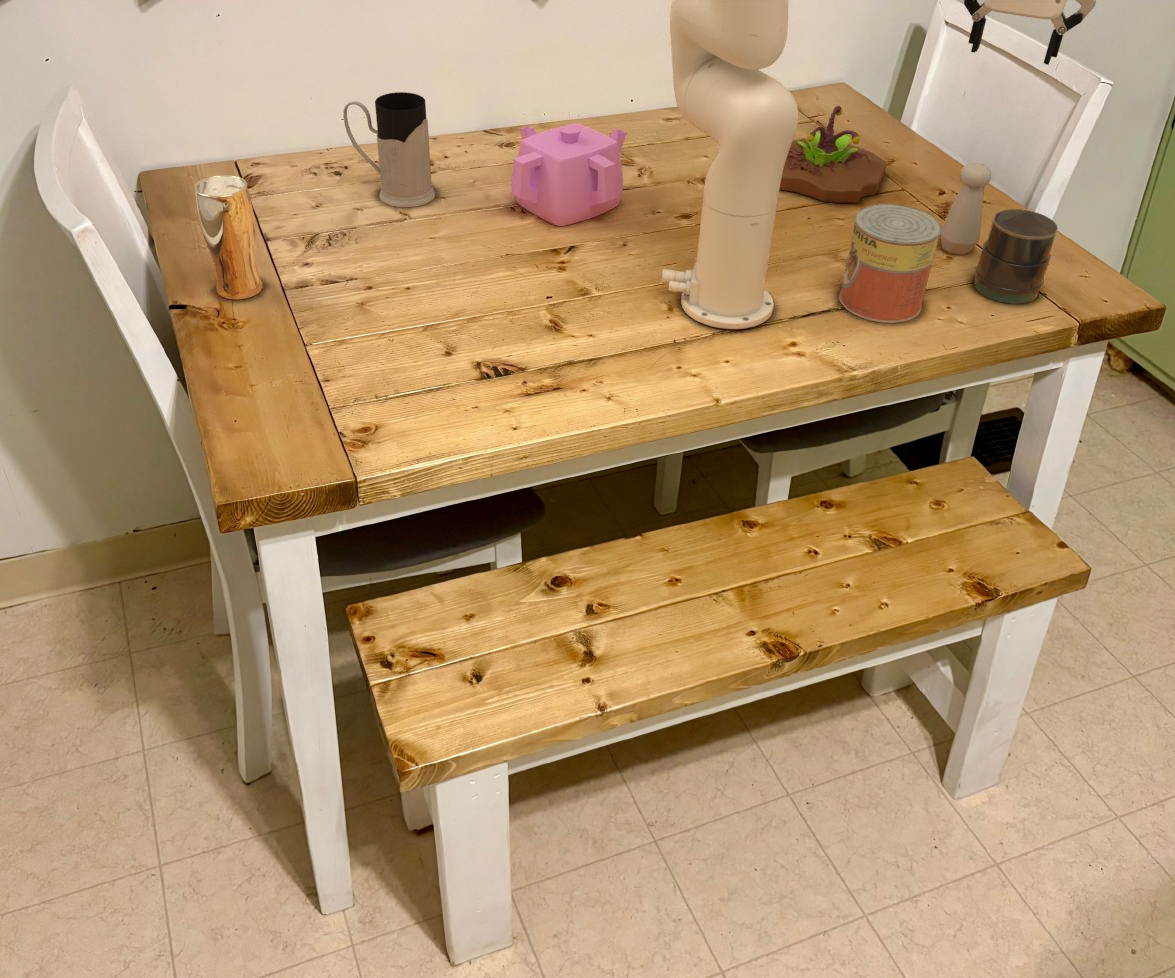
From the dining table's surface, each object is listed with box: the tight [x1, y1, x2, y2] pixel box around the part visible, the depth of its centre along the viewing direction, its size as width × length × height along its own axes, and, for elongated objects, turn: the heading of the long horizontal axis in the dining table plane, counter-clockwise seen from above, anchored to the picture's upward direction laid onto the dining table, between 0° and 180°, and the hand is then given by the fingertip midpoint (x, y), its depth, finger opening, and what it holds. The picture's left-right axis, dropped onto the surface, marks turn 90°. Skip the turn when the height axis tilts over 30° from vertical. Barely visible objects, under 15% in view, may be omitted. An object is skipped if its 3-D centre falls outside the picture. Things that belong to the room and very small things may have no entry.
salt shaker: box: [939, 162, 992, 256], centre depth 166 cm, size 6×6×13 cm
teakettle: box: [510, 122, 628, 227], centre depth 173 cm, size 17×17×12 cm
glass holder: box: [342, 91, 436, 208], centre depth 174 cm, size 9×14×15 cm, turn 71°
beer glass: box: [193, 174, 264, 301], centre depth 149 cm, size 7×7×15 cm
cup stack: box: [973, 208, 1058, 305], centre depth 158 cm, size 9×9×10 cm
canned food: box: [838, 203, 942, 324], centre depth 153 cm, size 11×11×12 cm
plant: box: [779, 105, 887, 204], centre depth 185 cm, size 20×20×11 cm
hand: (1010, 55), depth 154 cm, fingers open, 9 cm apart
